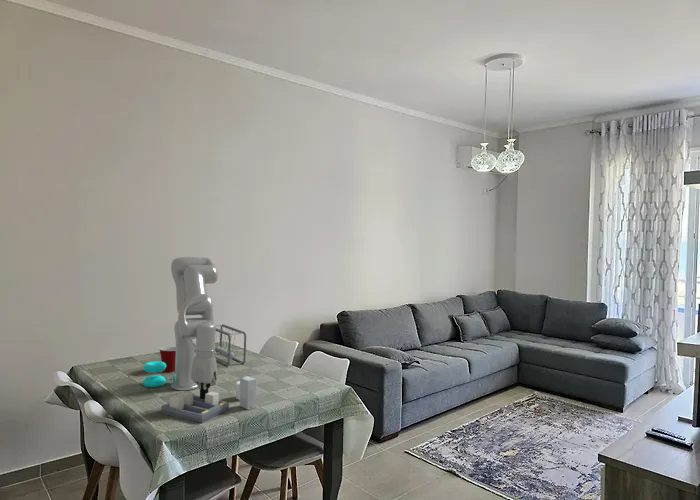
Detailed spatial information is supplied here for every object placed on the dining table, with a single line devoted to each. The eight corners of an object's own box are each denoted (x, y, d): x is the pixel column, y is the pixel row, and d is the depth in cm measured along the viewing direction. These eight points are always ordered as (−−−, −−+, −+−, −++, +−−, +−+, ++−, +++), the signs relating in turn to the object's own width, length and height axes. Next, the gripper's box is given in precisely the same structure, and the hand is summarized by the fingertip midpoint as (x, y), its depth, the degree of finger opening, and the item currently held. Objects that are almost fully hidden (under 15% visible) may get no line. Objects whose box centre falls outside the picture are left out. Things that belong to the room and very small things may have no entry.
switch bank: (161, 413, 186) (161, 405, 186) (189, 401, 200) (190, 393, 200) (202, 423, 178) (202, 414, 178) (228, 409, 193) (228, 401, 193)
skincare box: (256, 407, 196) (257, 378, 196) (247, 410, 193) (248, 380, 192) (247, 403, 200) (248, 375, 200) (238, 406, 197) (239, 377, 196)
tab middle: (178, 405, 190) (179, 394, 190) (185, 402, 194) (185, 391, 193) (186, 407, 189) (187, 395, 189) (192, 404, 192) (193, 393, 192)
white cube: (169, 409, 185) (169, 398, 185) (176, 406, 189) (176, 395, 189) (177, 411, 184) (177, 399, 184) (183, 408, 187) (184, 397, 187)
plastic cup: (184, 368, 247) (185, 346, 247) (174, 374, 236) (175, 350, 236) (164, 367, 248) (165, 344, 248) (153, 373, 237) (154, 349, 237)
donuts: (138, 364, 216) (153, 359, 226) (137, 386, 216) (152, 380, 226) (156, 367, 214) (170, 361, 223) (156, 389, 214) (170, 382, 223)
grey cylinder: (244, 394, 212) (244, 378, 211) (254, 398, 207) (254, 382, 207) (231, 398, 206) (232, 382, 206) (241, 401, 202) (242, 385, 202)
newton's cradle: (204, 355, 276) (205, 325, 275) (221, 353, 283) (222, 323, 282) (228, 367, 253) (229, 334, 253) (245, 364, 260) (246, 332, 260)
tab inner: (205, 405, 192) (205, 394, 191) (210, 402, 195) (211, 391, 195) (212, 406, 190) (213, 395, 190) (218, 404, 193) (219, 393, 193)
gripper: (184, 353, 193) (183, 397, 193) (214, 358, 187) (212, 404, 188) (197, 349, 200) (195, 392, 200) (225, 354, 194) (224, 398, 194)
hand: (203, 398), depth 194 cm, fingers closed
